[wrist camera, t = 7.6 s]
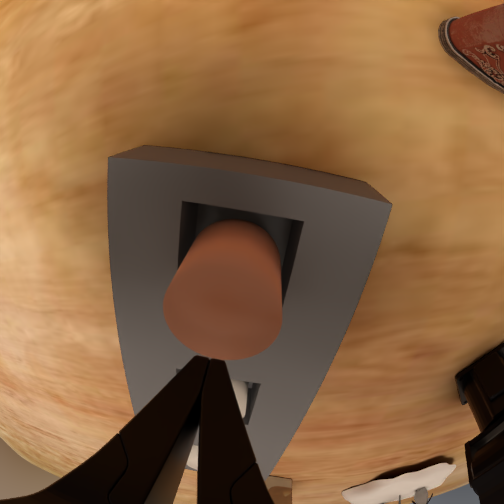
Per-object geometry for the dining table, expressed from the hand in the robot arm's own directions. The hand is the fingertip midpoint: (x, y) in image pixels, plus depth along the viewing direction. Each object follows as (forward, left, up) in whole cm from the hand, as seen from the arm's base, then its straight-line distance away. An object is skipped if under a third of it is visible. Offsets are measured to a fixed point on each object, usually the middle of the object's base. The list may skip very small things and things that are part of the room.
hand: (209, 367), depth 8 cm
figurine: (-49, +5, -10) cm, 50 cm away
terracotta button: (0, 0, -6) cm, 6 cm away
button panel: (-7, +7, -10) cm, 14 cm away
